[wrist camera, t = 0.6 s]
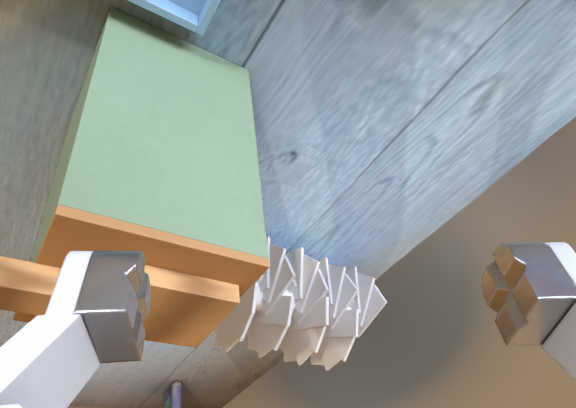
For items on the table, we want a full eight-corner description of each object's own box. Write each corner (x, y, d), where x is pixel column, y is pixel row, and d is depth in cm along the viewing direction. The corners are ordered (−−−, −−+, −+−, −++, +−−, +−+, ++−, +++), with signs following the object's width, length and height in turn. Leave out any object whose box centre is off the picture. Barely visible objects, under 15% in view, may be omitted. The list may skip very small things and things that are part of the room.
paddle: (-133, 276, 31) (-149, 306, 30) (-133, 202, 26) (-153, 234, 25) (196, 330, 42) (196, 354, 40) (239, 284, 37) (240, 310, 35)
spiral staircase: (323, 269, 92) (207, 240, 79) (392, 259, 78) (264, 221, 65) (315, 369, 86) (188, 355, 73) (388, 377, 72) (247, 362, 59)
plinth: (73, 111, 54) (12, 320, 37) (110, 6, 46) (55, 213, 29) (196, 154, 61) (193, 346, 44) (248, 69, 52) (270, 267, 36)
